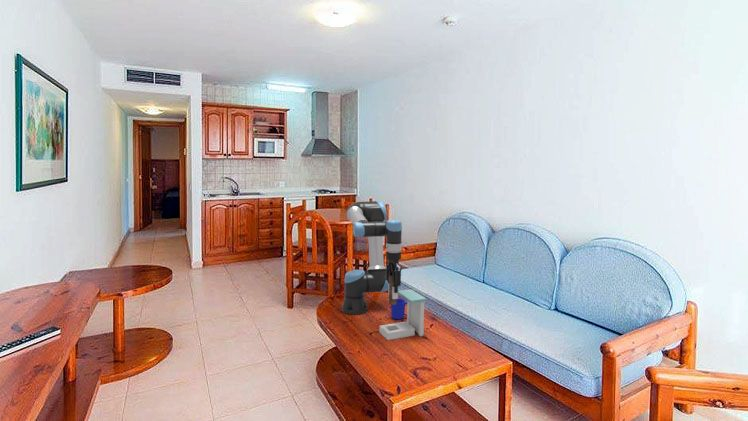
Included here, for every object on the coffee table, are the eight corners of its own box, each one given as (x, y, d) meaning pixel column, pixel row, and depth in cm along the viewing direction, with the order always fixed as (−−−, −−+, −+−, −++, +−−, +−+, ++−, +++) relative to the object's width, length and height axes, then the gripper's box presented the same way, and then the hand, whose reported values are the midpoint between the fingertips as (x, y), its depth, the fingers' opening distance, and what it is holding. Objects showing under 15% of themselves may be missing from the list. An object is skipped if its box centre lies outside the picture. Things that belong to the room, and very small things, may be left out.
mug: (410, 321, 219) (411, 304, 218) (389, 319, 221) (389, 302, 220) (412, 316, 227) (412, 299, 226) (391, 314, 229) (391, 297, 228)
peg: (387, 302, 201) (387, 275, 199) (394, 301, 202) (395, 274, 201) (391, 305, 197) (391, 277, 196) (398, 304, 199) (398, 276, 197)
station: (377, 330, 207) (377, 293, 205) (410, 324, 215) (410, 289, 213) (390, 342, 193) (390, 303, 190) (425, 336, 200) (426, 298, 198)
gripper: (379, 248, 203) (379, 293, 206) (394, 255, 188) (393, 303, 190) (392, 247, 206) (392, 291, 209) (408, 254, 191) (407, 301, 193)
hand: (393, 297), depth 199 cm, fingers closed on peg, 4 cm apart
